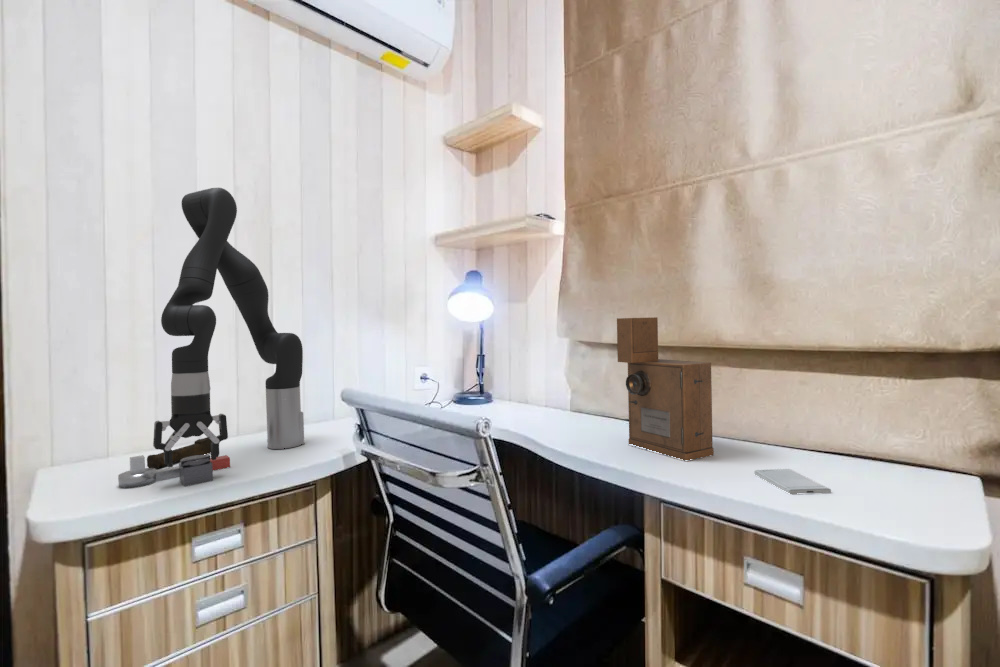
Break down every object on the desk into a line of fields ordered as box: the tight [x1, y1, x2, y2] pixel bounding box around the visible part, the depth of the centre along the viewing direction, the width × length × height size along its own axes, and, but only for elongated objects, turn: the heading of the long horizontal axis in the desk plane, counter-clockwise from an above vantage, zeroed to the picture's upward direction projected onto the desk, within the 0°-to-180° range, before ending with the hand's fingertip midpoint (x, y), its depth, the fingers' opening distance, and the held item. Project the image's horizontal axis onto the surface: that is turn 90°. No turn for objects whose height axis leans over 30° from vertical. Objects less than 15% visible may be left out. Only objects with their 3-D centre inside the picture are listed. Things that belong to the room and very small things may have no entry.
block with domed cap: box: [178, 454, 214, 487], centre depth 112 cm, size 6×6×5 cm
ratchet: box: [117, 454, 231, 490], centre depth 116 cm, size 22×7×6 cm, turn 132°
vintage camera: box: [616, 317, 715, 461], centre depth 127 cm, size 19×14×35 cm
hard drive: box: [753, 468, 832, 495], centre depth 100 cm, size 2×8×12 cm
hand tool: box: [146, 436, 212, 470], centre depth 131 cm, size 19×4×5 cm, turn 160°
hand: (192, 462), depth 111 cm, fingers open, 8 cm apart
